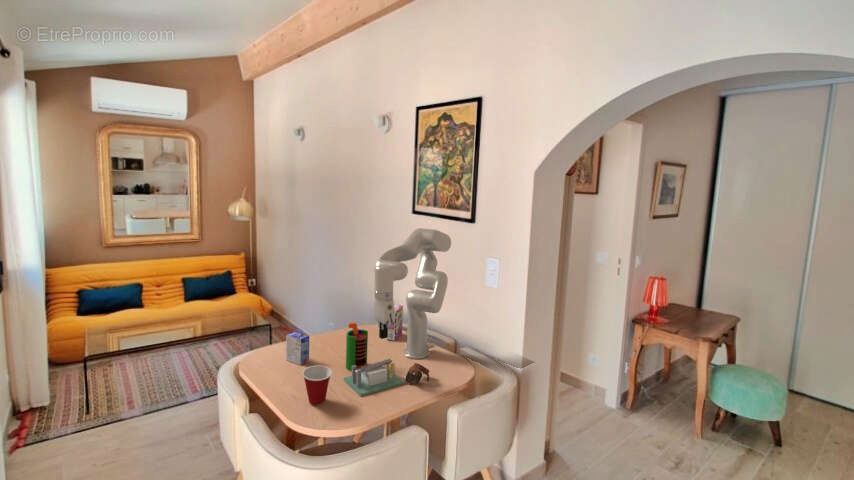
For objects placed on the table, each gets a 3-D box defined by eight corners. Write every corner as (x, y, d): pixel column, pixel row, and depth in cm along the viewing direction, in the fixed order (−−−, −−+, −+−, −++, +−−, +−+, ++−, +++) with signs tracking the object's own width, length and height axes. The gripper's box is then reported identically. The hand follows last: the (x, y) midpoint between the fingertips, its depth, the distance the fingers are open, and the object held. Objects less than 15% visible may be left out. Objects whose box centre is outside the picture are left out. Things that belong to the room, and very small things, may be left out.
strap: (389, 360, 182) (389, 358, 182) (392, 362, 180) (392, 360, 179) (353, 371, 173) (353, 369, 172) (356, 374, 170) (356, 372, 170)
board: (385, 369, 189) (385, 352, 188) (404, 383, 176) (404, 365, 175) (343, 380, 178) (343, 361, 177) (360, 396, 165) (360, 377, 164)
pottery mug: (402, 377, 183) (411, 360, 184) (422, 387, 183) (430, 369, 185) (404, 383, 171) (414, 364, 172) (425, 394, 172) (434, 375, 173)
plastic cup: (313, 412, 153) (313, 381, 151) (296, 401, 160) (296, 371, 158) (338, 401, 161) (338, 371, 159) (320, 391, 168) (320, 362, 166)
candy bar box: (395, 341, 221) (396, 311, 219) (386, 340, 223) (387, 310, 220) (402, 334, 232) (403, 305, 230) (394, 333, 233) (394, 304, 231)
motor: (361, 372, 185) (362, 328, 182) (342, 370, 187) (342, 326, 184) (369, 363, 195) (369, 321, 192) (350, 360, 197) (351, 319, 194)
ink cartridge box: (310, 361, 195) (310, 331, 193) (300, 365, 190) (300, 334, 188) (295, 356, 200) (294, 326, 198) (285, 360, 195) (285, 329, 193)
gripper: (401, 298, 170) (400, 341, 173) (383, 289, 182) (382, 330, 185) (384, 300, 166) (384, 345, 169) (367, 291, 178) (367, 333, 181)
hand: (383, 337), depth 177 cm, fingers closed
